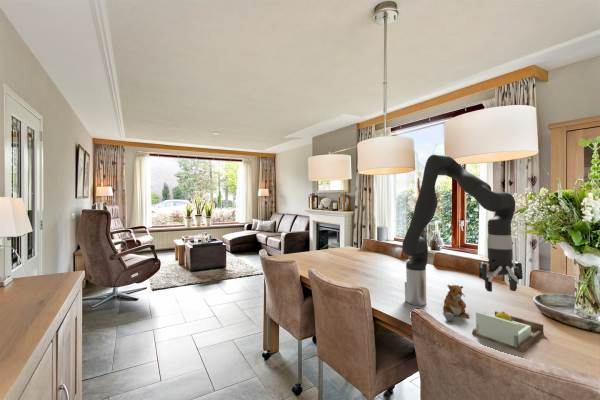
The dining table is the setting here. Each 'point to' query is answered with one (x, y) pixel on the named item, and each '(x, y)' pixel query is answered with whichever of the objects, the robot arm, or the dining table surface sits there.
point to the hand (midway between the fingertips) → (500, 290)
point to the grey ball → (449, 316)
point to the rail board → (535, 335)
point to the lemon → (503, 316)
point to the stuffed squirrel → (455, 302)
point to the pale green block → (502, 329)
